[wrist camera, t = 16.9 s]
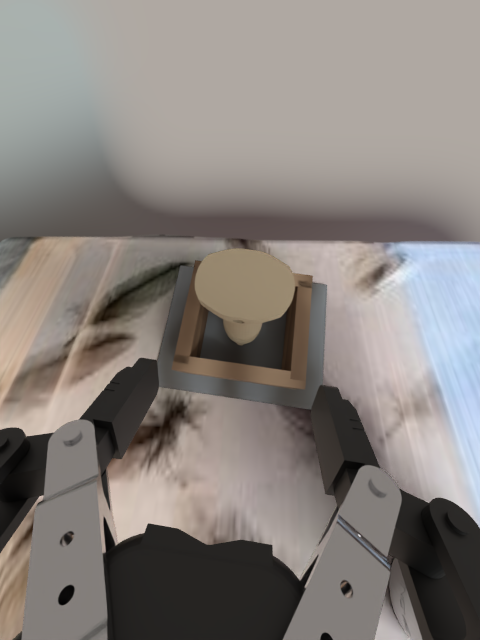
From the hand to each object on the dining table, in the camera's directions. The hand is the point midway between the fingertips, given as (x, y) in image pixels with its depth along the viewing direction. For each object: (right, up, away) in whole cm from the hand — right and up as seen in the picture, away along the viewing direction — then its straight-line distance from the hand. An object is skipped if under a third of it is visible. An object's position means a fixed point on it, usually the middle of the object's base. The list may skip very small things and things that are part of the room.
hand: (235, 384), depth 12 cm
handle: (+1, +1, +18) cm, 18 cm away
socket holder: (+1, +2, +18) cm, 18 cm away
